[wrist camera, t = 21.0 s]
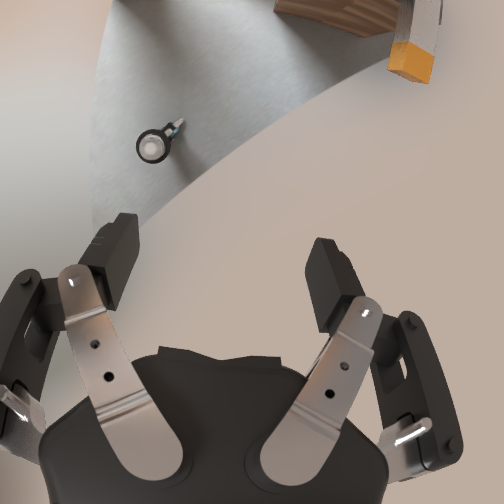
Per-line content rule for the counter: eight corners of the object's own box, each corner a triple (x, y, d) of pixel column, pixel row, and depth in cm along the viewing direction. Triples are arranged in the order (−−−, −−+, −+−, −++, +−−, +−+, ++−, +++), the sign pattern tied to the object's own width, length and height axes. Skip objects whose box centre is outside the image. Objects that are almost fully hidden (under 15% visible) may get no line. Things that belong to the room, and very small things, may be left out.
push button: (173, 108, 40) (155, 116, 32) (194, 129, 42) (181, 141, 34) (148, 135, 42) (127, 149, 34) (168, 154, 45) (151, 172, 37)
